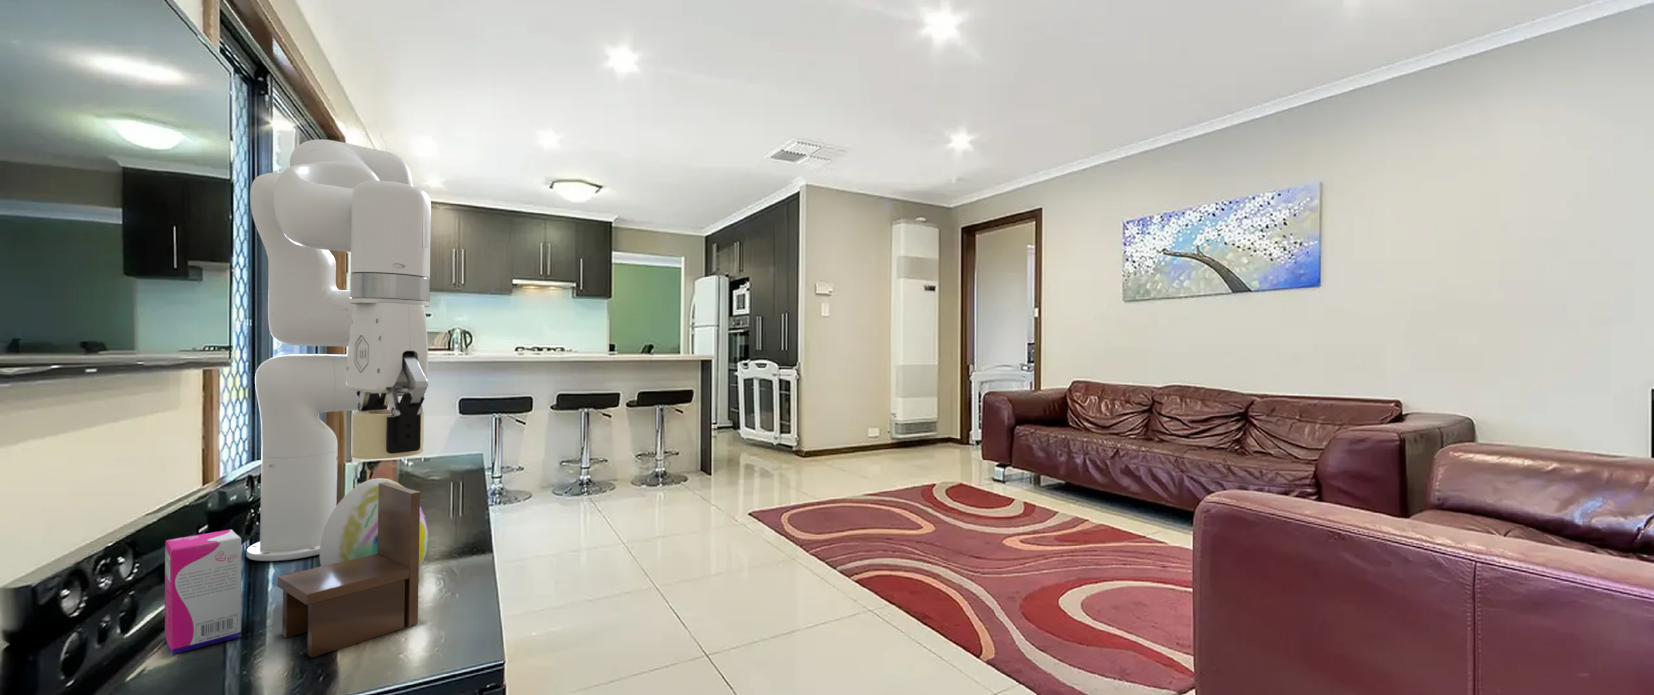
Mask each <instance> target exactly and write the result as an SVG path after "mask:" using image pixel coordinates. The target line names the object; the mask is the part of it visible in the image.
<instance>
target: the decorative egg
mask: <svg viewBox="0 0 1654 695" xmlns="http://www.w3.org/2000/svg"><path fill="white" fill-rule="evenodd" d="M384 482H388V483H392V484H395V485H398V486H402V487H404V485H402V484H400V483H398V482H397V481H394V480H392V479H390V478H381V477H378V478H372V479H368V480H365V481H363V482H361V483H359V484H358V485H356V486H355V487H353V488H352V489H351V490H350V491H349V492H347V494H345V495H344V496H343V497H342V498H341V500H340V501H339V502H338V503H337V504H336V508H335V509H334V510H333V512H332V514H331V515H330V517H329V519H328V521H327V524H326V526H325V529H324V531H323V535H322V539H321V544H320V554H319V564H320V567H321V566H326V565H330V564H335V563H339V562H343V561H348V560H352V559H357V558H361V557H365V556H370V555H374V554H377V551H378V495H379V483H384ZM428 543H429V531H428V524H427V520H426V516H425V514H424V511H423V509H422V506H420V528H419V570H421V568H422V565H423V563H424V561H425V558H426V556H427V550H428V545H429V544H428Z"/></svg>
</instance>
